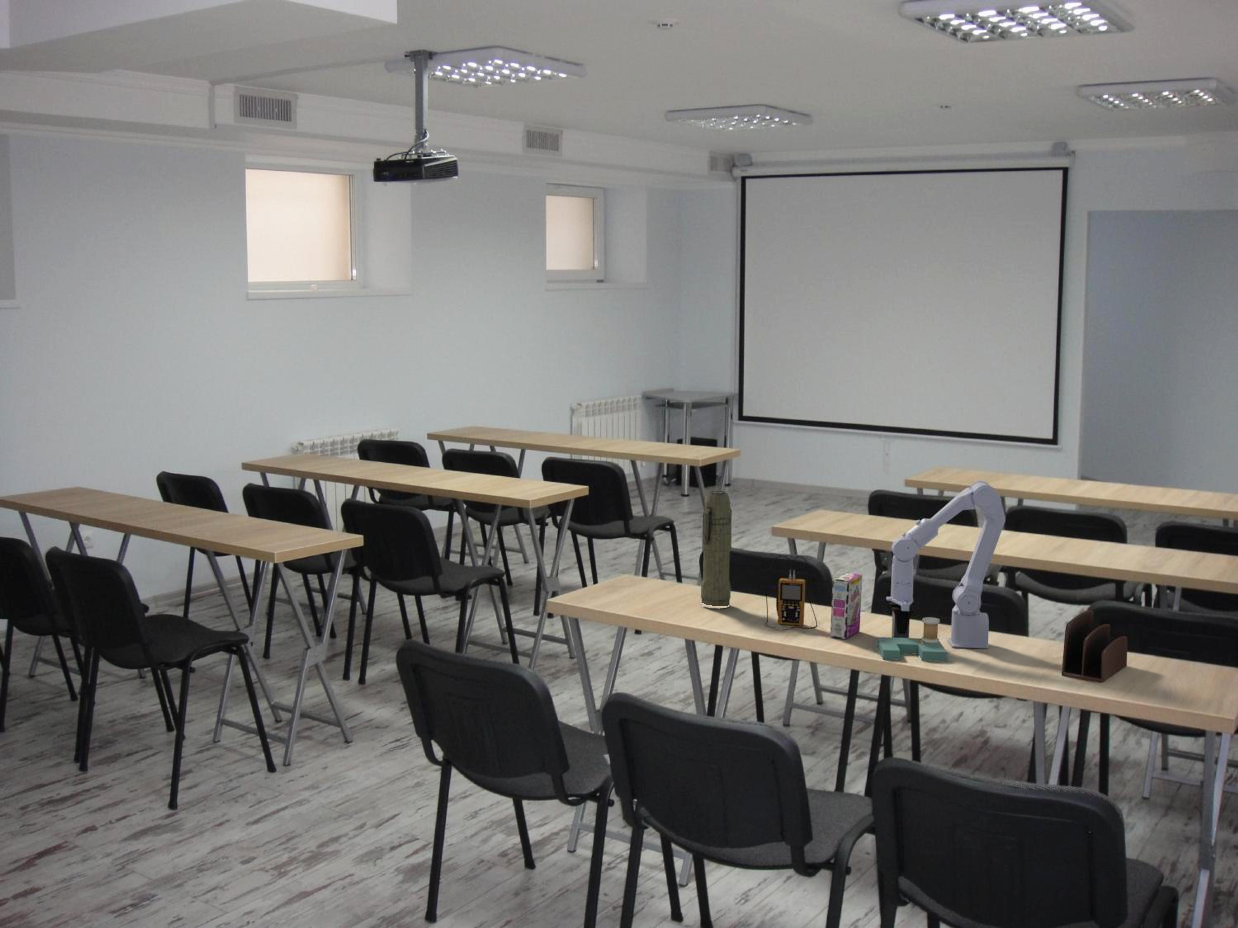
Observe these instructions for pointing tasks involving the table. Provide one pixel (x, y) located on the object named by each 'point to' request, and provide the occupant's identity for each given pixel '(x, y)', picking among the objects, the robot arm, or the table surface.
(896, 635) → the terminal peg
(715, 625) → the table surface
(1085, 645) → the letter holder
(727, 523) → the thermos
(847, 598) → the candy bar box
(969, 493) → the robot arm
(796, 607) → the multimeter
